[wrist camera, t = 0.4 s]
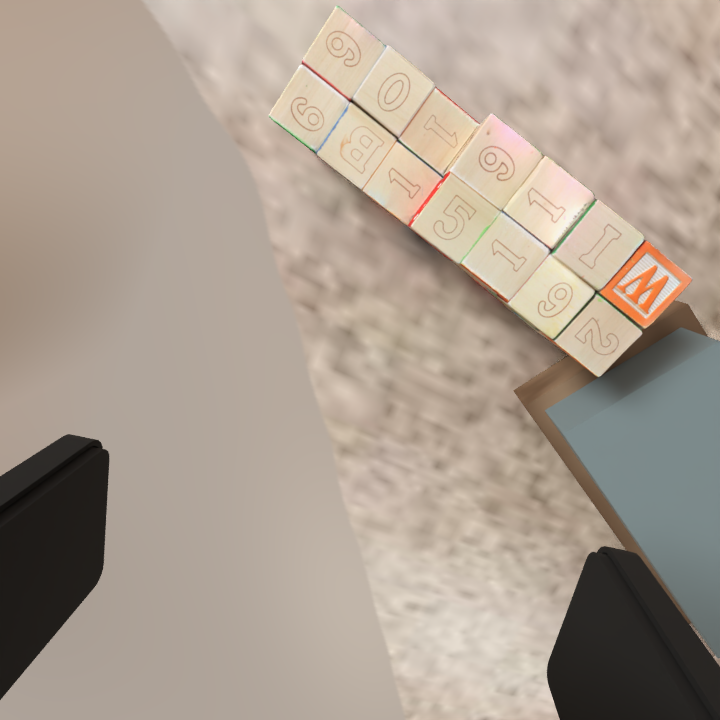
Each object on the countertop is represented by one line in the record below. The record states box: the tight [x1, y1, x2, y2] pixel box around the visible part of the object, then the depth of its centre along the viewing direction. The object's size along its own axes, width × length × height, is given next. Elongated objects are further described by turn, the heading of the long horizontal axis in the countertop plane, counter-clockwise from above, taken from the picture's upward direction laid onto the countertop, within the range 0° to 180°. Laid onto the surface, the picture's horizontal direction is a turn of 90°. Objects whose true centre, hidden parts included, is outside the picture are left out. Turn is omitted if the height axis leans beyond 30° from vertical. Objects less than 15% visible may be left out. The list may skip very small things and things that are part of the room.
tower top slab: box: [545, 327, 720, 658], centre depth 33 cm, size 10×20×4 cm, turn 36°
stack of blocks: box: [269, 5, 692, 377], centre depth 29 cm, size 21×6×12 cm, turn 53°
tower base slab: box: [514, 300, 708, 624], centre depth 37 cm, size 12×22×4 cm, turn 37°
